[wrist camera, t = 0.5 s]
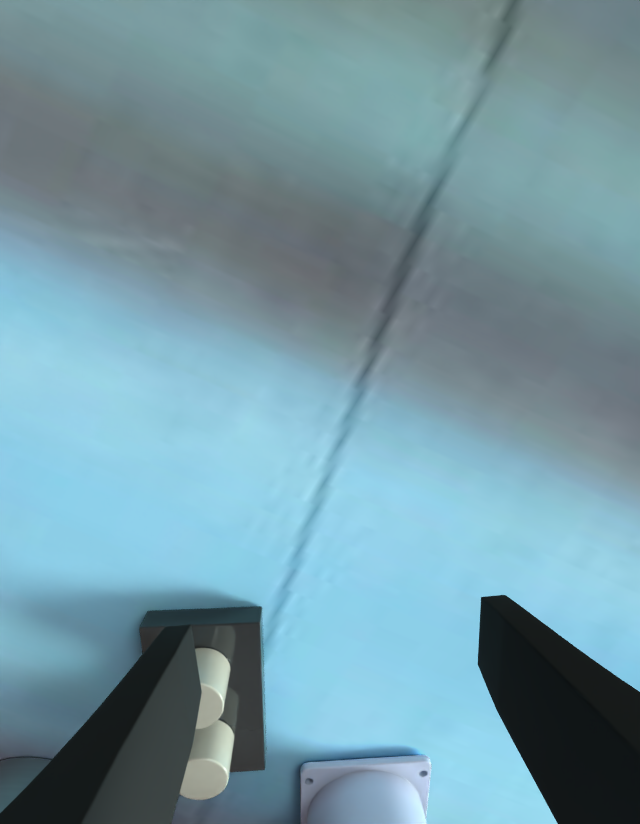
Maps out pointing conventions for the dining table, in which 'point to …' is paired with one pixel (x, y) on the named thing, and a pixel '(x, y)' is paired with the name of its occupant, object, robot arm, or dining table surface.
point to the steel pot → (17, 776)
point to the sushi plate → (245, 669)
